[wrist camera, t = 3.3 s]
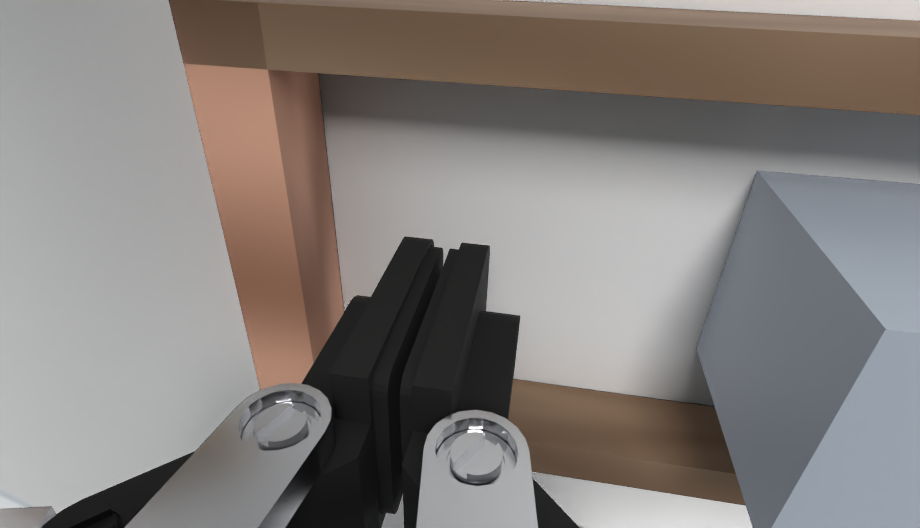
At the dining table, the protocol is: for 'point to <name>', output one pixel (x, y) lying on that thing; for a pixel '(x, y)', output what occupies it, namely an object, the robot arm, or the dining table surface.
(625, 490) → the dining table surface
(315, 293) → the guide channel
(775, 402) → the grey block
